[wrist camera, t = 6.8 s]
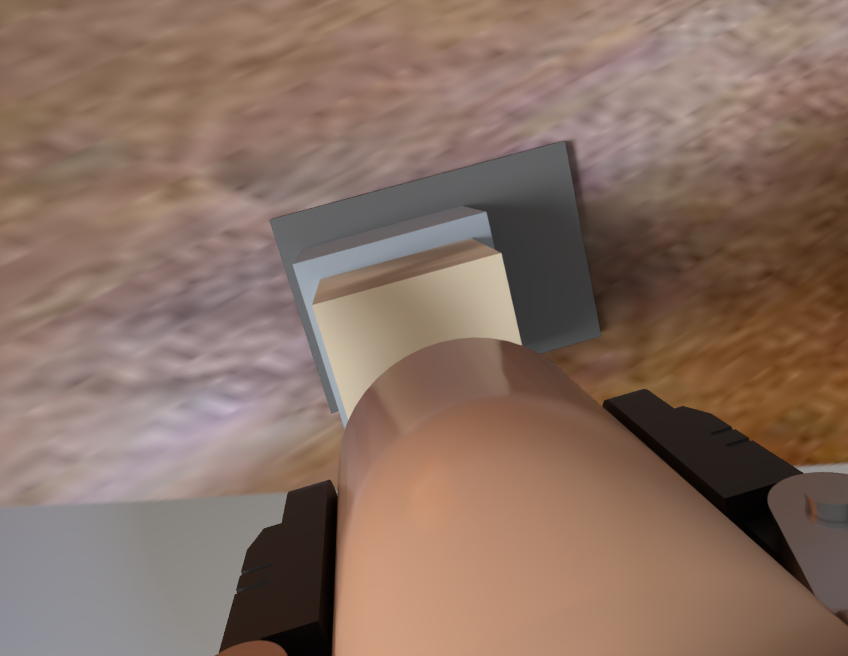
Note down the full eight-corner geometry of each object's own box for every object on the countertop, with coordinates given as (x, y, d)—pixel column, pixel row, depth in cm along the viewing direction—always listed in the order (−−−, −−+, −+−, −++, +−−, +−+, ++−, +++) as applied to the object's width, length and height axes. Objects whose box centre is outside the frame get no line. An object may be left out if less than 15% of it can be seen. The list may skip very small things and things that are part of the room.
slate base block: (461, 205, 26) (486, 211, 21) (496, 355, 28) (527, 392, 23) (303, 248, 26) (292, 264, 21) (349, 397, 28) (349, 443, 23)
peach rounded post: (569, 305, 11) (911, 499, 4) (615, 536, 12) (934, 961, 6) (304, 380, 11) (231, 711, 4) (379, 608, 12) (417, 1145, 5)
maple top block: (470, 238, 21) (501, 252, 17) (504, 379, 23) (539, 426, 19) (319, 279, 21) (311, 305, 17) (363, 420, 23) (366, 477, 18)
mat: (560, 141, 27) (564, 140, 26) (596, 332, 29) (601, 336, 28) (270, 219, 26) (269, 219, 25) (331, 408, 28) (331, 413, 28)
